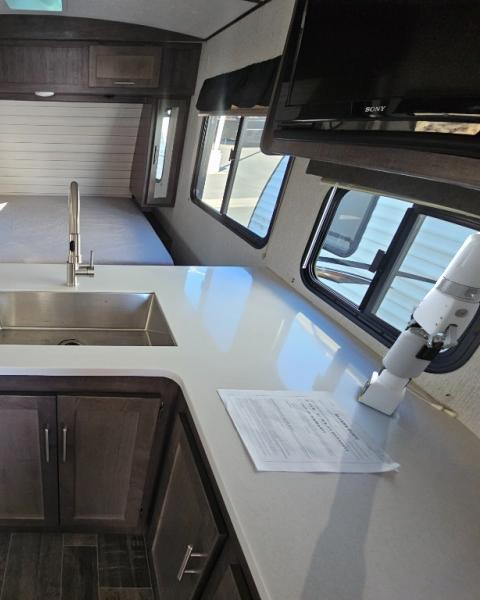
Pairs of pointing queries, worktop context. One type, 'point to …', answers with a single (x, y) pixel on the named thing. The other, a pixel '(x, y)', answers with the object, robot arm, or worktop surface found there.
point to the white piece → (384, 391)
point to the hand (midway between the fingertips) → (414, 348)
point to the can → (407, 354)
